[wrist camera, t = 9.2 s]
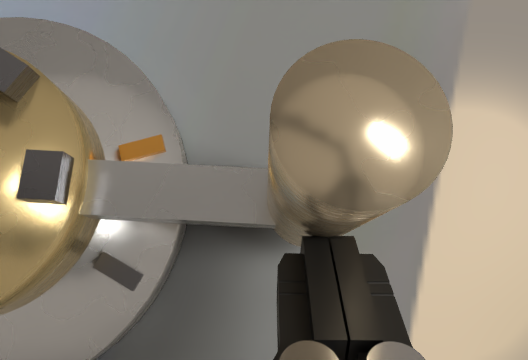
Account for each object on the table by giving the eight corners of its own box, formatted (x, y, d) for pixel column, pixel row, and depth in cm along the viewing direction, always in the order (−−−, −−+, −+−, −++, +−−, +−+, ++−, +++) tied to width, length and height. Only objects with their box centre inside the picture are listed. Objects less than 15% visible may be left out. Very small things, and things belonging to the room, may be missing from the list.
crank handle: (-181, 313, 15) (-816, 368, 6) (-110, 69, 17) (-502, -148, 9) (346, 343, 15) (469, 445, 6) (348, 91, 17) (440, -107, 8)
